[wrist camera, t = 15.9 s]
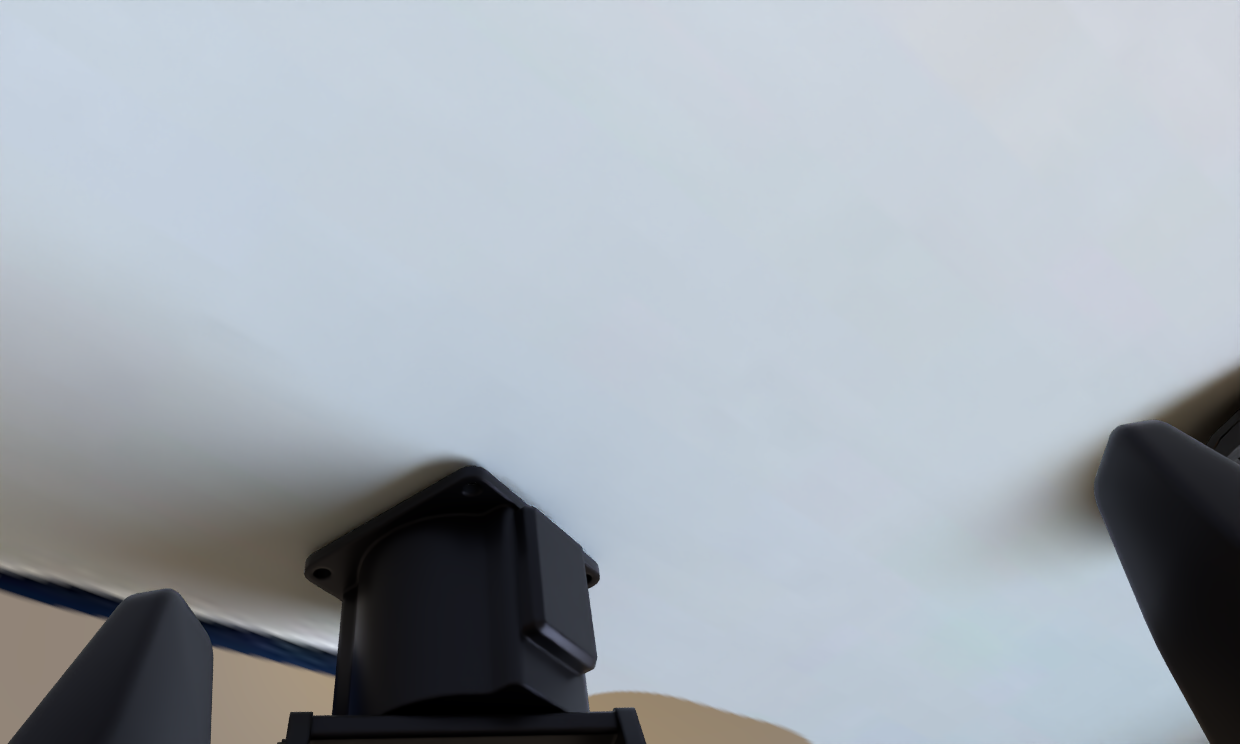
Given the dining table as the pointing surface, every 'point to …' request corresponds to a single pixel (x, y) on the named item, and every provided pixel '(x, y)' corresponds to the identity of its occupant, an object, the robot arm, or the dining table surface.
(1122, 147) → the dining table surface
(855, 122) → the dining table surface
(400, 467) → the dining table surface
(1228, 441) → the hairbrush
